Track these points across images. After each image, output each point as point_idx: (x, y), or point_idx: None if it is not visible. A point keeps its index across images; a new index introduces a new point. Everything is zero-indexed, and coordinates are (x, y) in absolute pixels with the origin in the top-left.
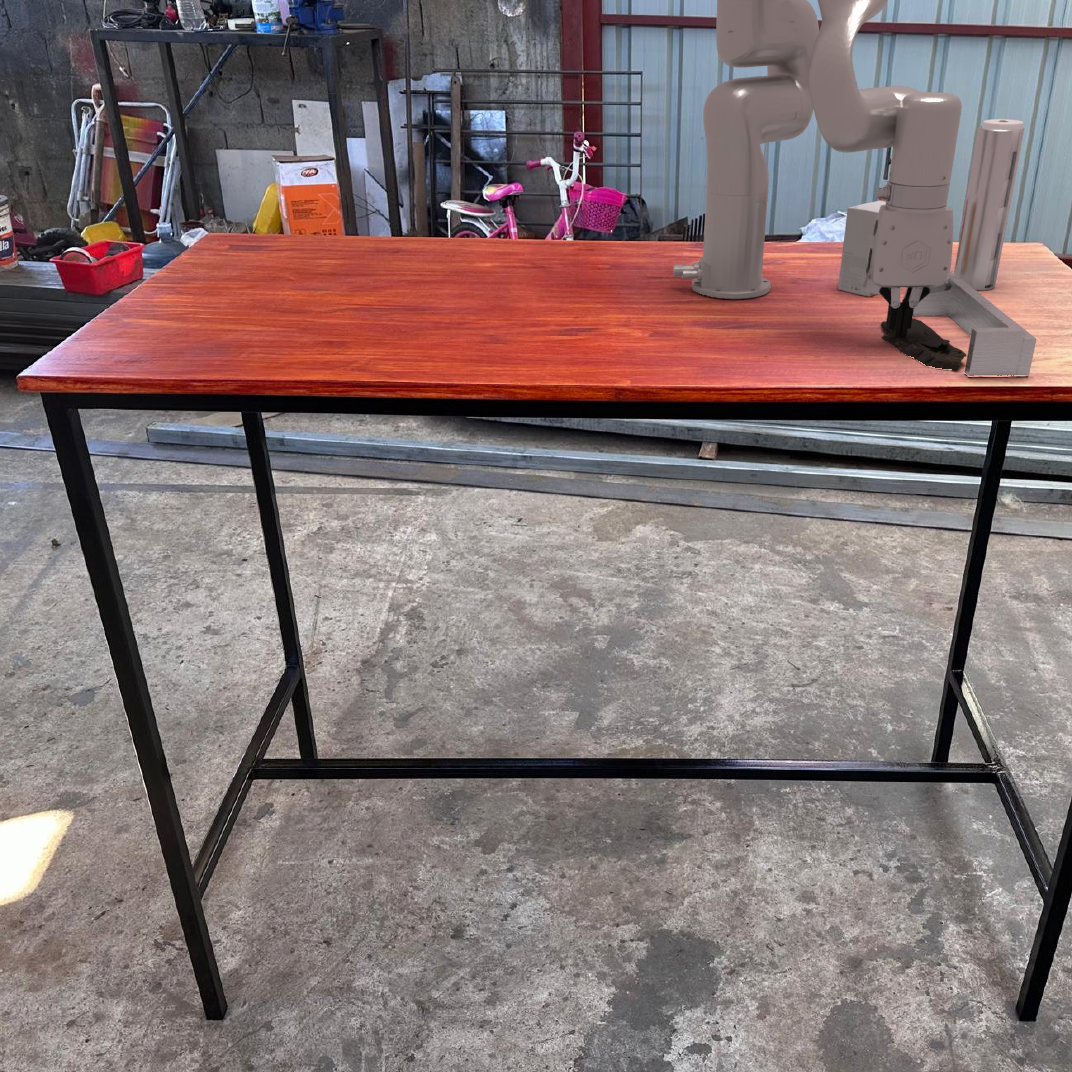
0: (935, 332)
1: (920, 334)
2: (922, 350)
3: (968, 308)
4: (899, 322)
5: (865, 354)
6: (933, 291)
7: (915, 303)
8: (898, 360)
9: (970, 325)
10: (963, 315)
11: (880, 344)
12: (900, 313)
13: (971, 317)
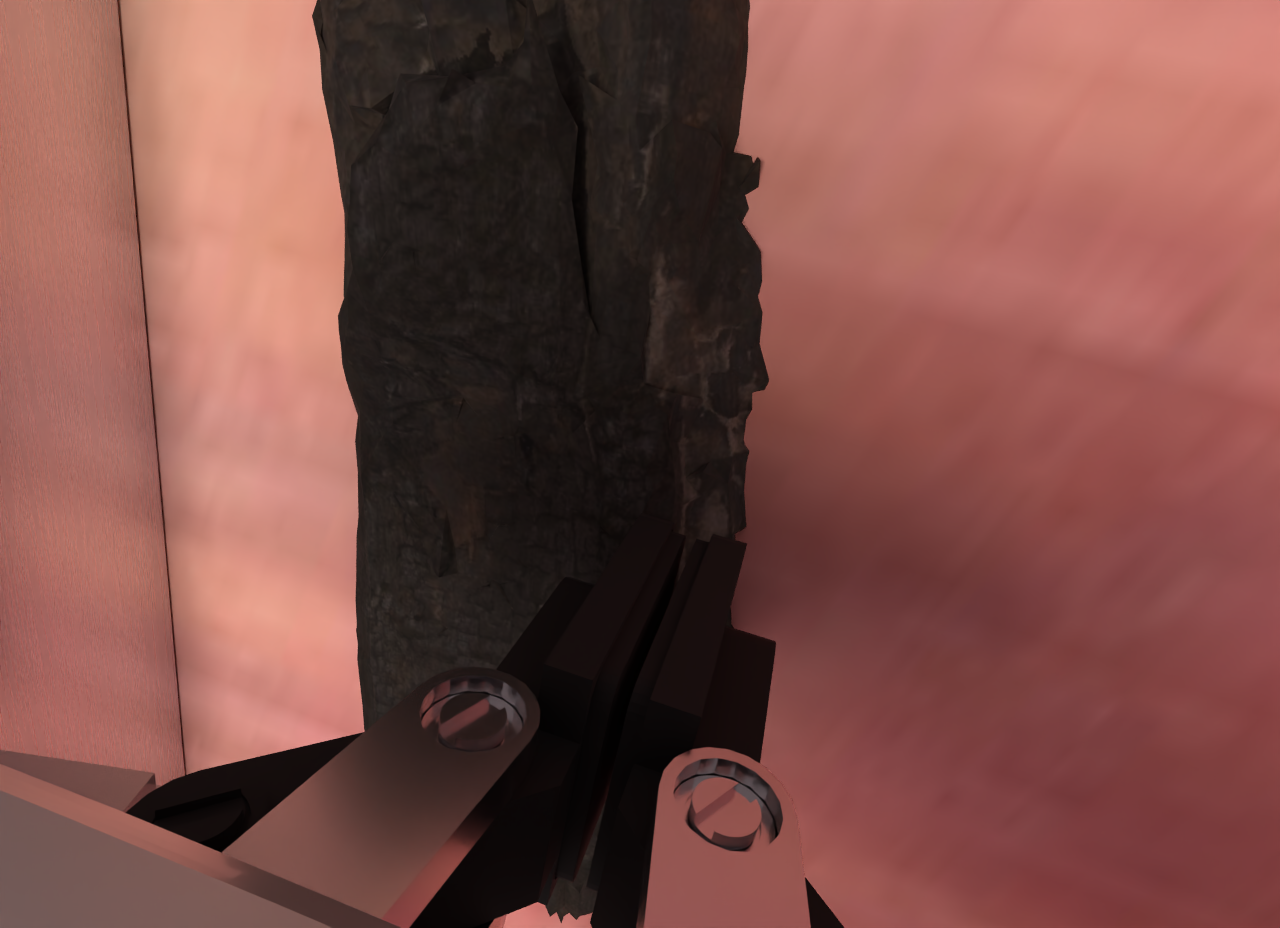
0: (362, 564)
1: (488, 553)
2: (668, 124)
3: (23, 718)
4: (700, 601)
5: (1125, 409)
6: (94, 790)
7: (448, 706)
8: (913, 155)
9: (109, 586)
10: (104, 725)
11: (819, 594)
12: (682, 664)
13: (55, 622)
